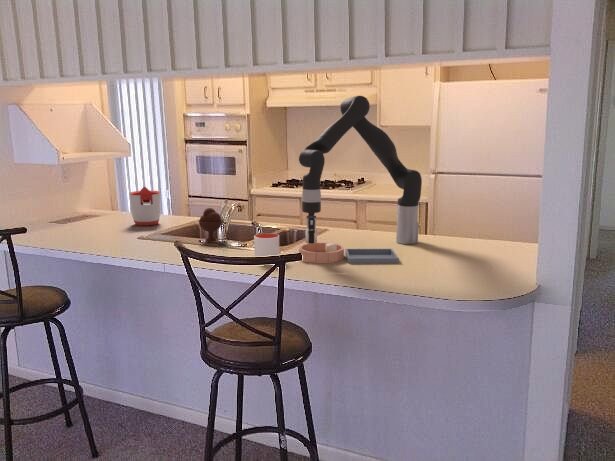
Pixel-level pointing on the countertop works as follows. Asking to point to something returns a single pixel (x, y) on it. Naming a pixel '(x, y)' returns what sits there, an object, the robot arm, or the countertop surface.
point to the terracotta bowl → (320, 253)
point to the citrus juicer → (145, 207)
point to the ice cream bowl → (210, 223)
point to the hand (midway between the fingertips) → (311, 241)
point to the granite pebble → (308, 236)
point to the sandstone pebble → (331, 247)
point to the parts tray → (371, 256)
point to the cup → (266, 244)
